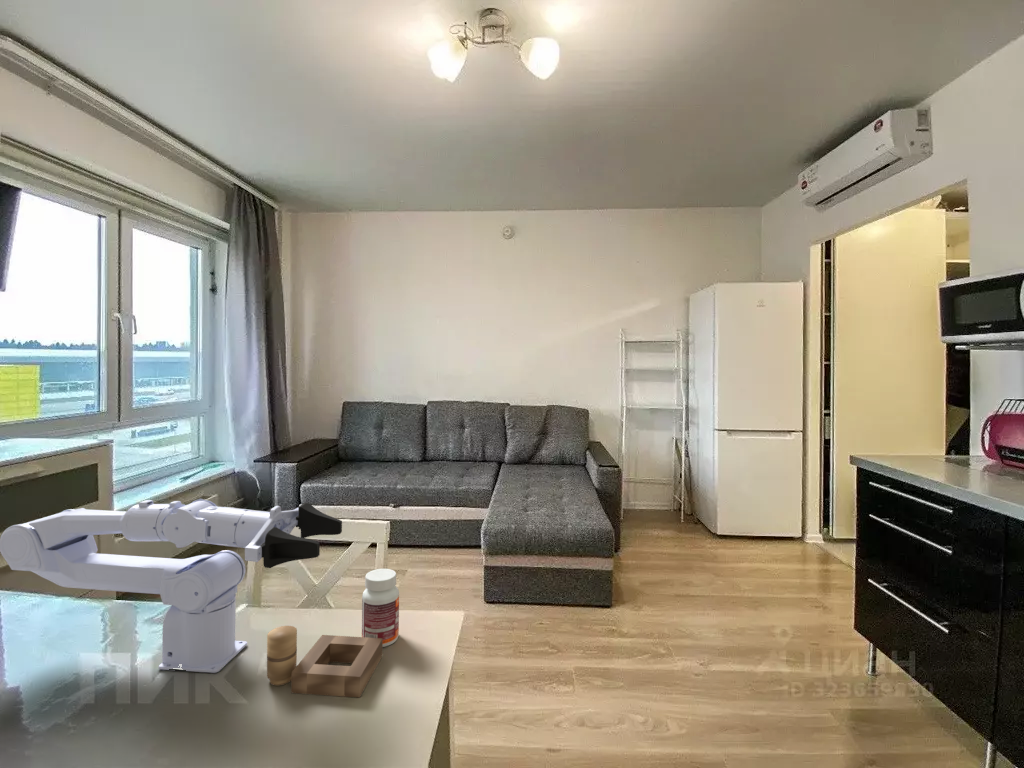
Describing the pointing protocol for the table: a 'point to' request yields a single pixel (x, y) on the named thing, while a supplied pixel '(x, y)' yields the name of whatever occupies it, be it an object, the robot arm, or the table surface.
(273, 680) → the peg
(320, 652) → the board
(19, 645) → the table surface
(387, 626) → the pill bottle
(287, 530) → the robot arm
